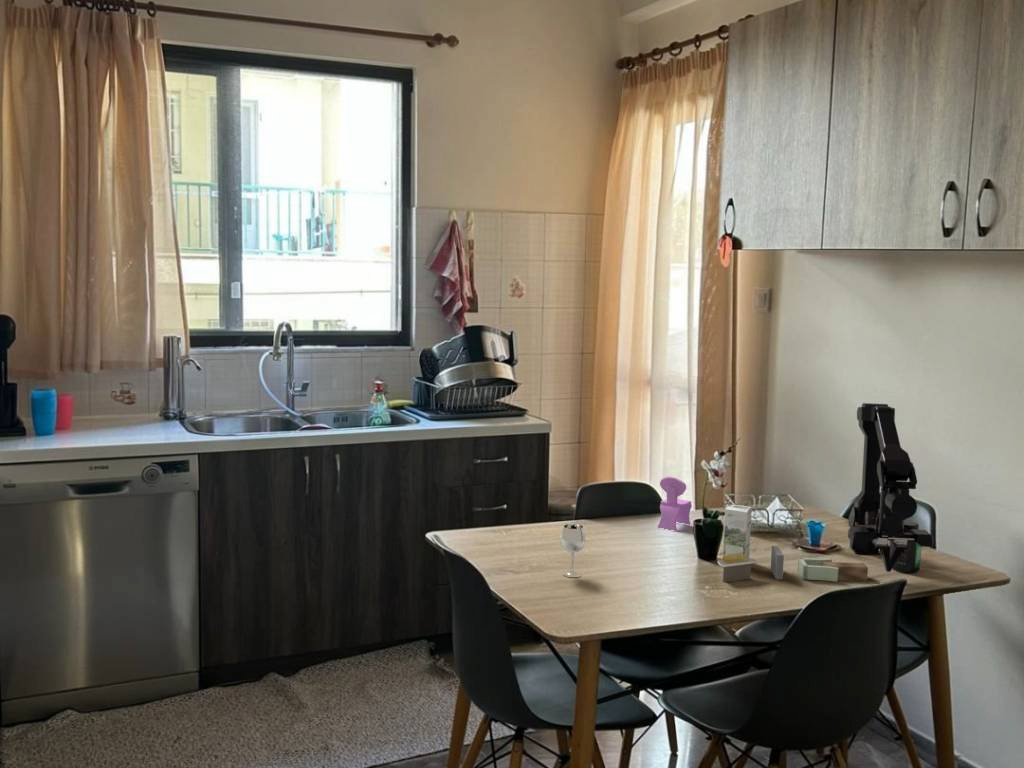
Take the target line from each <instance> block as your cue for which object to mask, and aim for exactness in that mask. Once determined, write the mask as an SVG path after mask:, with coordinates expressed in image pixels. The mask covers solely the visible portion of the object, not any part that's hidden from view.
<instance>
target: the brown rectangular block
mask: <svg viewBox="0 0 1024 768" xmlns="http://www.w3.org/2000/svg"><path fill="white" fill-rule="evenodd" d="M822 566H829V567H836V568H838V580H839V581H840V580H841V581H868V575H869V574H868V569H869V568H868V566H867V564H865V563H864V562H840V561H839V562H835V561H832V562H822Z"/></svg>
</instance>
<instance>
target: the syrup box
mask: <svg viewBox="0 0 1024 768" xmlns="http://www.w3.org/2000/svg"><path fill="white" fill-rule="evenodd" d="M752 508H753V507H752V506H746V505H739V504H738V505H737V504H728V505H727V506H726V508H725V510H724V522H723V523H724V524H723V525H724V528H723V546H722V549H723V551H722V555H723V554H729V556H730V554H731V553H736V555H737V553H738V554H739V552H742V554H741V555H742V557H743V554H746V558H750V546H751V544H750V542H751V528H752V527H751V525H752V512H753V511H752V510H753V509H752ZM727 556H728V555H727ZM732 558H733V557H732ZM734 558H735V555H734Z"/></svg>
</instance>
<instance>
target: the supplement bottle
mask: <svg viewBox="0 0 1024 768" xmlns="http://www.w3.org/2000/svg"><path fill="white" fill-rule="evenodd" d="M919 527H920V526H919V523H918V522H916V521H912V520H904V531H903V532H905V533H910V531H911V529H915V530H920V529H919ZM907 546H908V549H905V550H904V551H903V552H902V553H901V555H900V556H899V557H898V559H897V560H896V562H895V564H894V566H893V568H892V570H893V571H895V572H897V571H898V573H901V572H902V574H917V573H919V572H920V570H921V563H922V562H921V558H922V548H923V547H921V546H920V545H919V544H918V543H917V542H915V541H907Z"/></svg>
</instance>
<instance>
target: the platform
mask: <svg viewBox="0 0 1024 768" xmlns="http://www.w3.org/2000/svg"><path fill="white" fill-rule="evenodd" d="M741 554H742V552H739V554H738V553H737V555H736V553H731V554H730V556H729V554H723V553H722V558H721V559H718V560H717V563H718V565H719V566H720V567H723V570H722V571H723V572H722V582H723V583H726V582H732V581H741V580H747V579H751V575H752V574H751V573H752V564H757V559H755V558H751V557H749V558H746V554H743V557H742V555H741ZM727 555H728V556H727ZM734 555H735V558H734ZM732 557H733V558H732Z"/></svg>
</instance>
